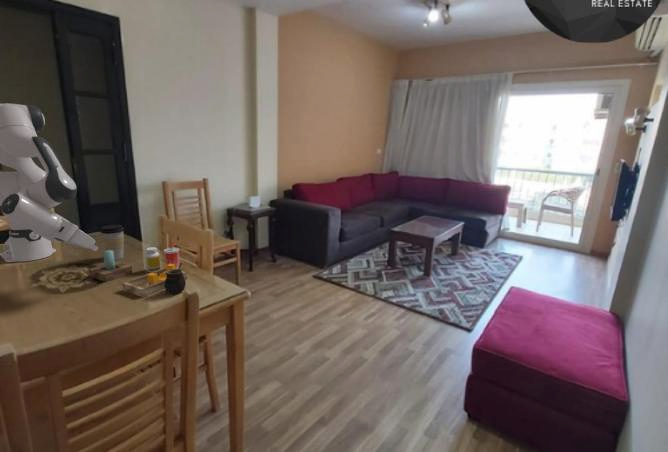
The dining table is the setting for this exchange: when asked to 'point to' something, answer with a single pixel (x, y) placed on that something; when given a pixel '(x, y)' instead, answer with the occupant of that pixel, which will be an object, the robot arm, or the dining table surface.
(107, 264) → the peg
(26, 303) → the dining table surface
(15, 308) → the dining table surface
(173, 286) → the mate gourd
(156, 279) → the pipe clamp
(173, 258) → the beverage cup
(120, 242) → the coffee cup
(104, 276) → the socket block
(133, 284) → the clamp corral
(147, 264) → the supplement bottle
